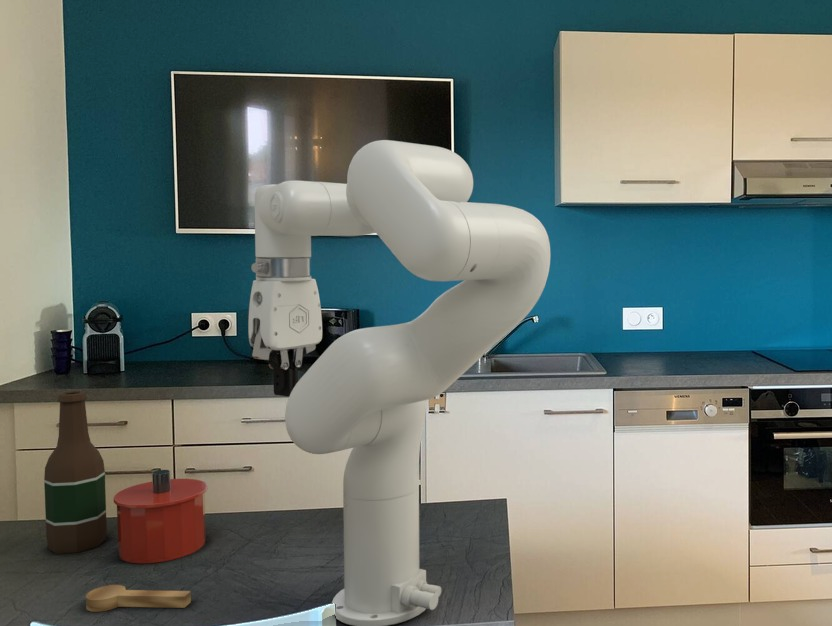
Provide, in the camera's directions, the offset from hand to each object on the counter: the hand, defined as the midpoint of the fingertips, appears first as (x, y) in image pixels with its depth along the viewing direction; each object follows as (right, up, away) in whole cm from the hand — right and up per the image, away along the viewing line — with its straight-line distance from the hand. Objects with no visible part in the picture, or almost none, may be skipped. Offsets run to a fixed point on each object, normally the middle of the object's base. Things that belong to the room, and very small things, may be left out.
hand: (285, 394), depth 114 cm
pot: (-21, -25, +6) cm, 33 cm away
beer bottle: (-35, -25, +7) cm, 44 cm away
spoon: (-15, -26, -13) cm, 32 cm away
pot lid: (-21, -16, +5) cm, 27 cm away
